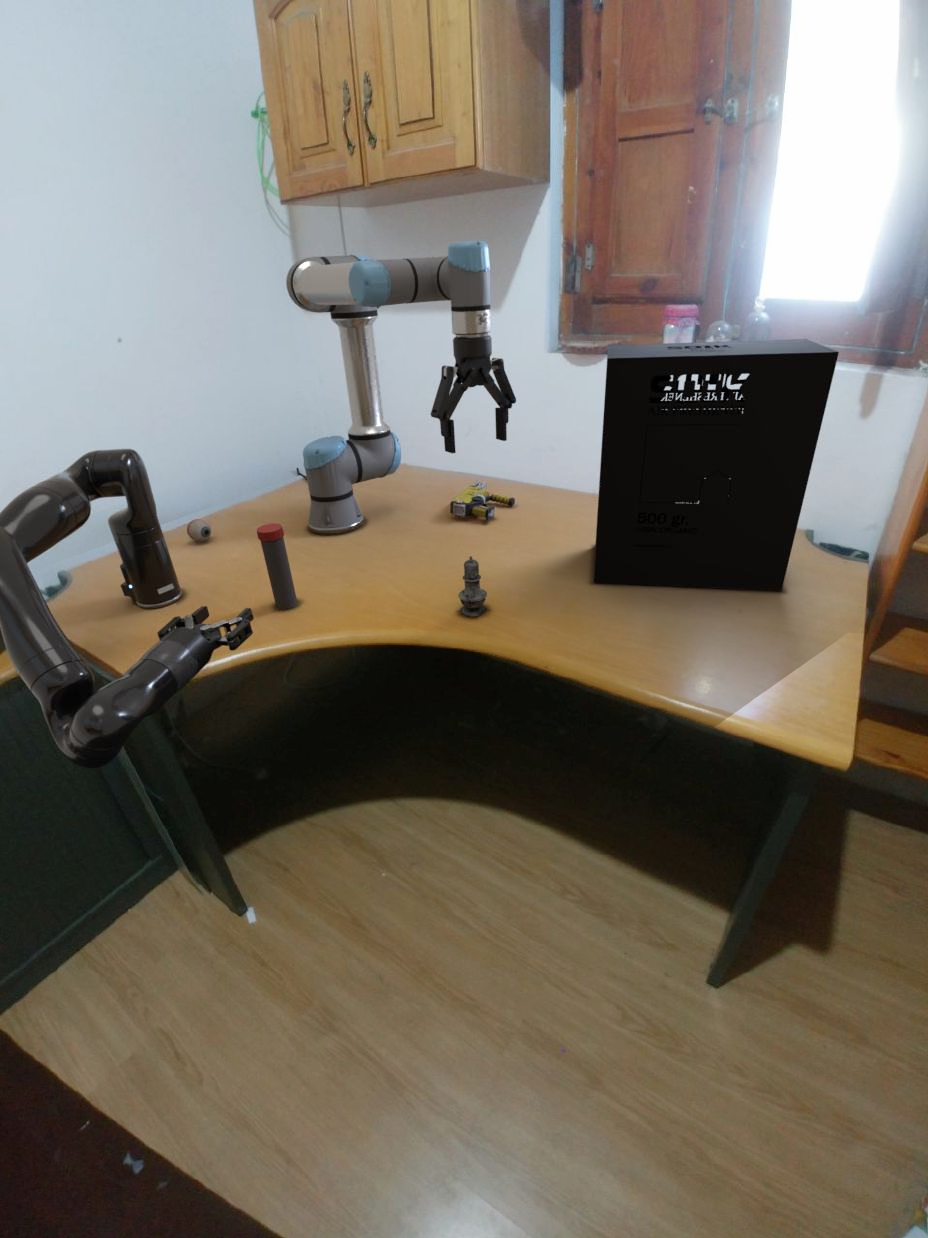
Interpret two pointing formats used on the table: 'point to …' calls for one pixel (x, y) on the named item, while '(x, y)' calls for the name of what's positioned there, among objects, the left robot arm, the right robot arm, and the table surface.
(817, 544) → the table surface
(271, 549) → the bottle
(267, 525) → the lid
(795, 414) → the cardboard box
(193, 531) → the eyeball
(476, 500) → the toy gun
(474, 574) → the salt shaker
